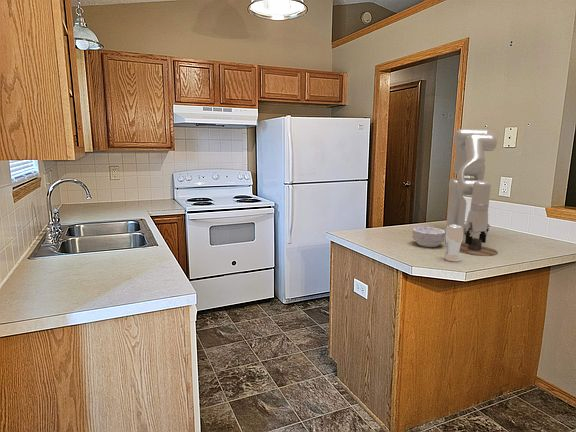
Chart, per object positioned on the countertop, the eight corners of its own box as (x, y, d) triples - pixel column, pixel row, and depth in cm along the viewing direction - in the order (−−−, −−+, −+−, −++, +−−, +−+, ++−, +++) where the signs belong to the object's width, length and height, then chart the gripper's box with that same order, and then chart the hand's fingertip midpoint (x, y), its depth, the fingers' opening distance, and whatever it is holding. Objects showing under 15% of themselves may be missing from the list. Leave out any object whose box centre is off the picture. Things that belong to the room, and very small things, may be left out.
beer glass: (452, 262, 164) (456, 228, 161) (439, 258, 170) (443, 225, 167) (463, 260, 167) (467, 227, 164) (450, 256, 173) (454, 223, 170)
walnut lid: (470, 244, 199) (471, 233, 197) (507, 254, 181) (508, 242, 180) (442, 247, 189) (443, 236, 188) (478, 258, 172) (480, 246, 171)
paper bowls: (430, 250, 182) (431, 234, 181) (405, 243, 195) (406, 228, 194) (450, 246, 190) (452, 231, 189) (425, 240, 203) (426, 225, 202)
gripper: (484, 206, 189) (480, 240, 192) (460, 207, 181) (456, 243, 184) (498, 208, 182) (494, 243, 185) (474, 210, 174) (469, 246, 177)
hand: (475, 243), depth 184 cm, fingers open, 9 cm apart
